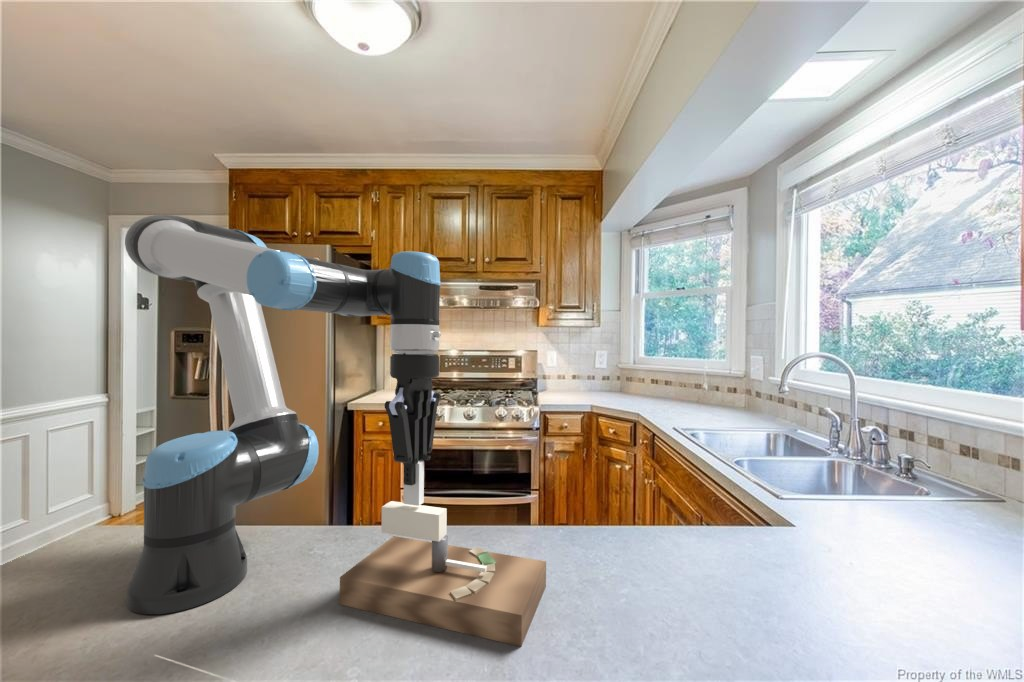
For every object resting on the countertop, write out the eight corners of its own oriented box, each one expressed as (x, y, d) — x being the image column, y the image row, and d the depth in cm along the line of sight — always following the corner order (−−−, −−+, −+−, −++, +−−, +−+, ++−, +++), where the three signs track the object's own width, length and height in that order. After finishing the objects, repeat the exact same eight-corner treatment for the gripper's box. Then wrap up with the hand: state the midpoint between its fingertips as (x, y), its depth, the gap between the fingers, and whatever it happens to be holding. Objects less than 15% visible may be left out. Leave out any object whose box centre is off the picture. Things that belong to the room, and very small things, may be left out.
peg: (381, 561, 66) (381, 506, 66) (390, 553, 69) (391, 500, 69) (482, 580, 61) (483, 521, 61) (488, 571, 63) (489, 514, 64)
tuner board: (339, 604, 62) (339, 575, 62) (394, 557, 76) (395, 533, 76) (521, 646, 54) (521, 612, 54) (546, 584, 68) (546, 558, 68)
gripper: (414, 353, 59) (412, 523, 59) (454, 352, 71) (453, 491, 71) (368, 353, 61) (367, 516, 61) (415, 351, 73) (414, 486, 73)
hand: (413, 502), depth 66 cm, fingers closed
